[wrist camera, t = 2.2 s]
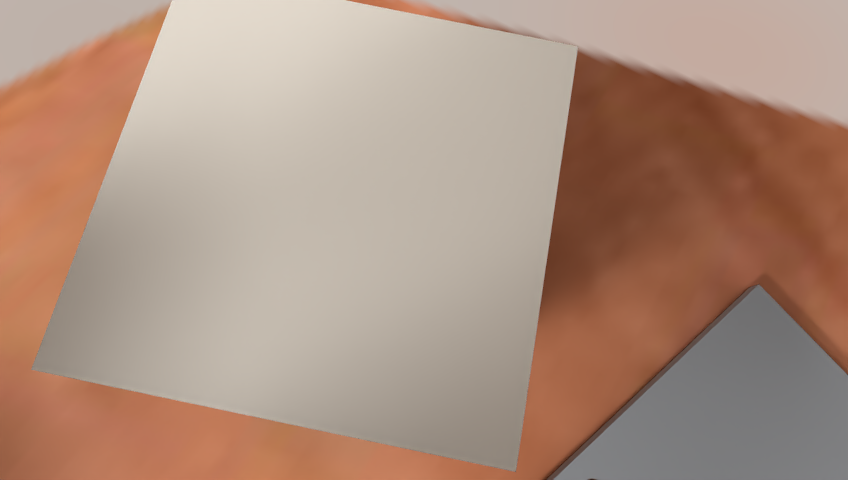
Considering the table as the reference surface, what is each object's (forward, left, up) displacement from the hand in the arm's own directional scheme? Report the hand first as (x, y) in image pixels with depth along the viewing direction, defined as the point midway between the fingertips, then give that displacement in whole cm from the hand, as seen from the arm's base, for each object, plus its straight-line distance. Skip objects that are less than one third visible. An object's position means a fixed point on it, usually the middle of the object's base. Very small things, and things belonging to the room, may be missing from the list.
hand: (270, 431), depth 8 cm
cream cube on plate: (+2, -3, -7) cm, 8 cm away
